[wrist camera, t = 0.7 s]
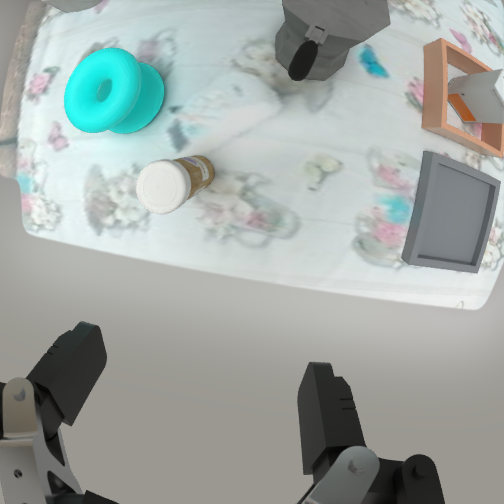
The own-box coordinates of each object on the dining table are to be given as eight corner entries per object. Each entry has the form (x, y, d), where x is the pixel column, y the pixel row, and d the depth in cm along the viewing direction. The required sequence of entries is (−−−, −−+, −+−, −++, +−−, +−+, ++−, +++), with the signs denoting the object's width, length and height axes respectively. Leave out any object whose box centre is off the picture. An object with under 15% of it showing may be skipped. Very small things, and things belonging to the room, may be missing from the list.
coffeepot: (294, 3, 24) (313, -79, 7) (359, 32, 25) (420, -30, 8) (246, 91, 29) (230, 35, 13) (317, 121, 31) (370, 98, 14)
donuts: (50, 86, 20) (115, 28, 18) (93, 94, 29) (149, 52, 27) (77, 151, 23) (149, 93, 21) (119, 147, 32) (179, 106, 30)
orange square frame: (423, 46, 24) (441, 37, 20) (485, 81, 25) (503, 78, 20) (421, 128, 29) (441, 127, 25) (482, 155, 29) (502, 158, 25)
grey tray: (423, 151, 31) (432, 152, 28) (491, 178, 31) (500, 181, 28) (401, 257, 36) (408, 264, 34) (469, 267, 36) (477, 273, 34)
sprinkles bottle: (217, 157, 33) (189, 163, 20) (211, 192, 34) (182, 219, 22) (182, 153, 33) (136, 157, 20) (177, 187, 34) (132, 211, 22)
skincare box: (440, 93, 27) (493, 83, 16) (451, 78, 26) (502, 67, 15) (463, 124, 28) (517, 126, 17) (473, 108, 27) (525, 107, 16)
